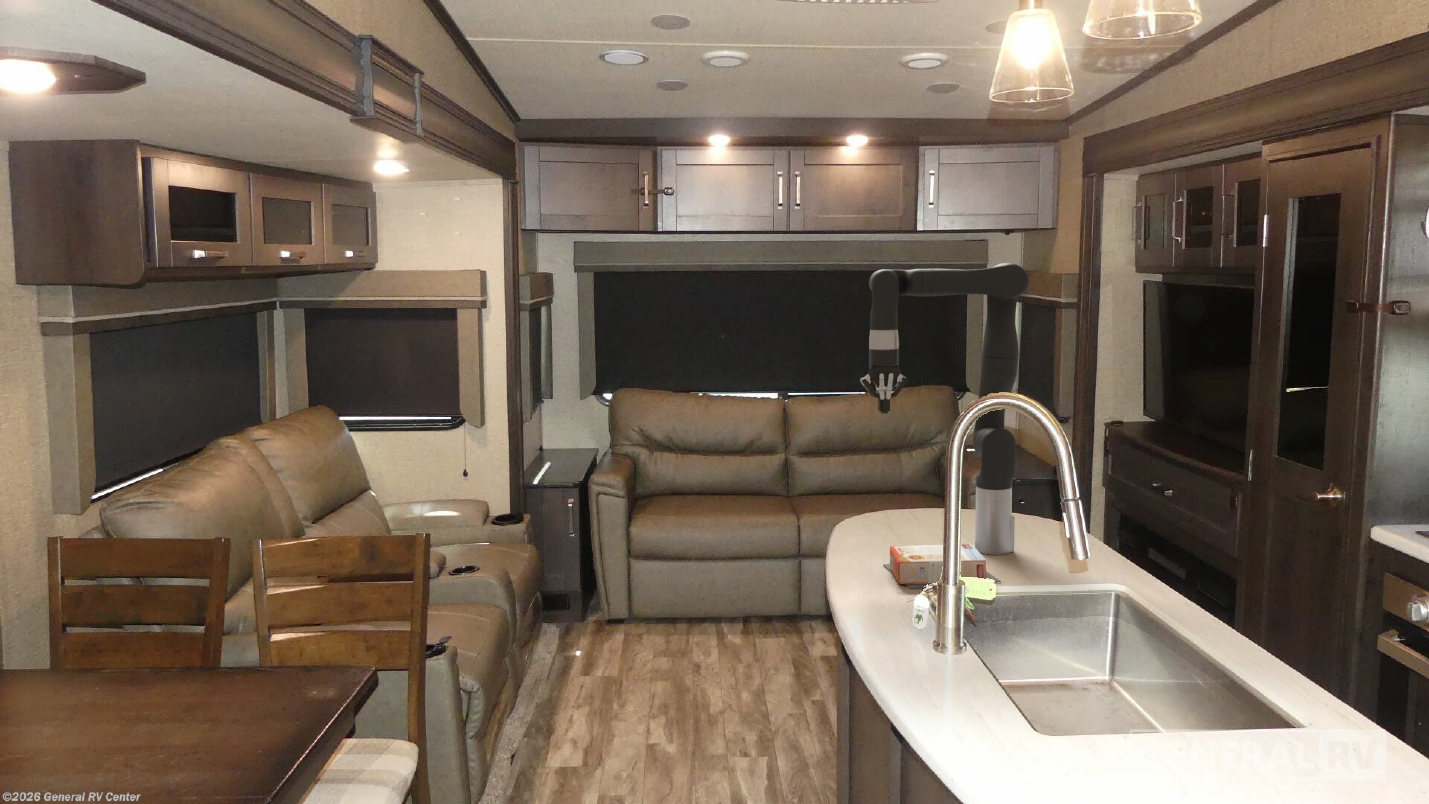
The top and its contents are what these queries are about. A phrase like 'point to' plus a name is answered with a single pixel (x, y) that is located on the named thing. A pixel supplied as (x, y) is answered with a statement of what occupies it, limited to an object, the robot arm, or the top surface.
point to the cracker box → (932, 563)
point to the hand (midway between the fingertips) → (883, 413)
